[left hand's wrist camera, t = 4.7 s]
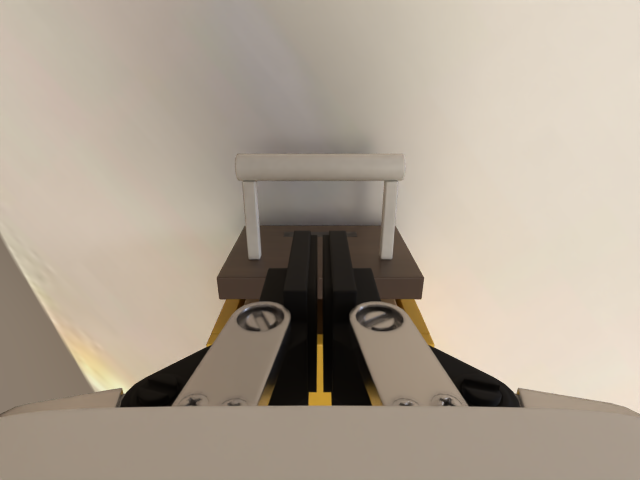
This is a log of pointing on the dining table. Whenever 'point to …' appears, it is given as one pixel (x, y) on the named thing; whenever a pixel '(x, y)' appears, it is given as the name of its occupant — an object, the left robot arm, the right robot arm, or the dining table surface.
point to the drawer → (364, 241)
